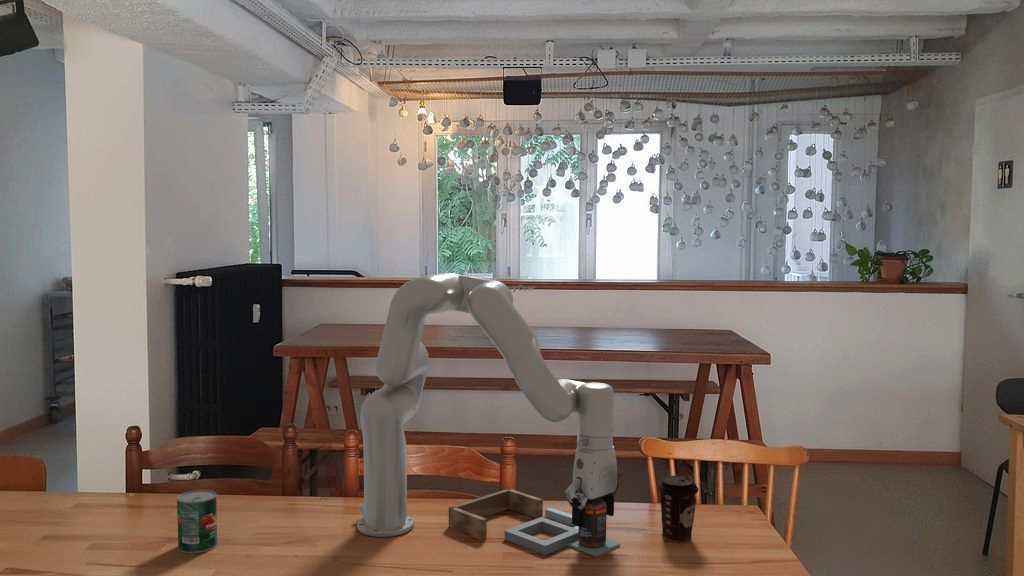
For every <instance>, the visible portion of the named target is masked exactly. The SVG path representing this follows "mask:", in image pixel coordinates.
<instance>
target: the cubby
mask: <svg viewBox="0 0 1024 576" xmlns="http://www.w3.org/2000/svg"><path fill="white" fill-rule="evenodd" d="M543 500H544V499H542V498H539V497H537V496H534V495H531V494H527V493H525V492H521V491H519V490H518V491H517V490H515V489H511V488H505V489H502V490H500V491H496V492H494V493H490V494H487V495H484V496H481V497H477V498H474V499H472V500H468V501H465V502H462V503H459V504H458V503H457V504H455V505H453V506H450V507H448V528H451V529H453V530H455V531H458V532H461V533H463V534H465V533H466V535H468V534H469V535H468V536H470V535H472V536H471V537H473V536H474V537H473V538H475V537H477V538H476V539H478V538H479V539H478V540H481V539H482V540H481V541H485V540H487V539H488V536H487V535H488V534H487V533H488V532H487V531H488V528H487V527H488V524H487V523H488V521H487V520H488V519H487V518H486V517H489V516H492V515H495V514H498V513H501V512H503V511H507V510H510V511H513V512H516V511H517V513H519V512H520V513H519V514H522V513H524V514H523V515H525V514H526V516H528V515H529V516H528V517H531V516H532V518H534V517H535V518H534V519H537V518H540V517H543V518H544V516H543V513H544V512H543V508H544V504H543V503H544V501H543ZM500 511H501V512H500ZM497 512H498V513H497ZM494 513H495V514H494ZM491 514H492V515H491ZM488 515H489V516H488ZM485 516H486V517H485ZM486 538H487V539H486ZM484 539H485V540H484Z"/></svg>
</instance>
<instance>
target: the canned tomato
mask: <svg viewBox="0 0 1024 576" xmlns="http://www.w3.org/2000/svg"><path fill="white" fill-rule="evenodd" d="M217 503H218V502H217V493H216V491H213V490H207V489H206V490H205V489H196V490H192V491H191V490H190V491H187V492H183V493H180V494H179V495H178V496H177V497H176V509H177V510H176V511H177V512H176V513H177V542H178V543H177V544H178V545H177V550H178V552H181V553H183V554H200V553H205V552H209V551H211V550H214V549H215V548H216V547H218V517H217V515H218V512H217V511H218V509H217V507H218V506H217Z"/></svg>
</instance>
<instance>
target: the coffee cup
mask: <svg viewBox="0 0 1024 576" xmlns="http://www.w3.org/2000/svg"><path fill="white" fill-rule="evenodd" d="M661 481H662V482H661V483H660V484H659V486H658V490H659V492H660V493H659V495H660V511H661V526H662V527H661V529H662V532H661V533H662V534H661V538H662V539H664V540H666V541H668V542H672V543H686V542H688V541H690V540H691V539H692V534H693V533H692V532H693V526H694V523H695V522H694V521H695V514H696V513H695V512H696V503H697V498H696V494H697V493H698V492H699V490H700V489H699V487H698V486H697V483H695V480H694V479H693V478H692V477H690V476H682V475H669V476H665V477H663V478H662V479H661Z"/></svg>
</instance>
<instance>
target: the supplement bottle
mask: <svg viewBox="0 0 1024 576" xmlns="http://www.w3.org/2000/svg"><path fill="white" fill-rule="evenodd" d="M584 509H586V519H585V527H584V528H581V527H579V543H580V544H581V545H583V546H586V547H600V546H603V545H604V544H605V543H606V539H607V515H606V503H605V502H604V501H603V500H602V496H601V497H598V498H596V499H592V500H591V499H587V501H586V504H585V506H584Z"/></svg>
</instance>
